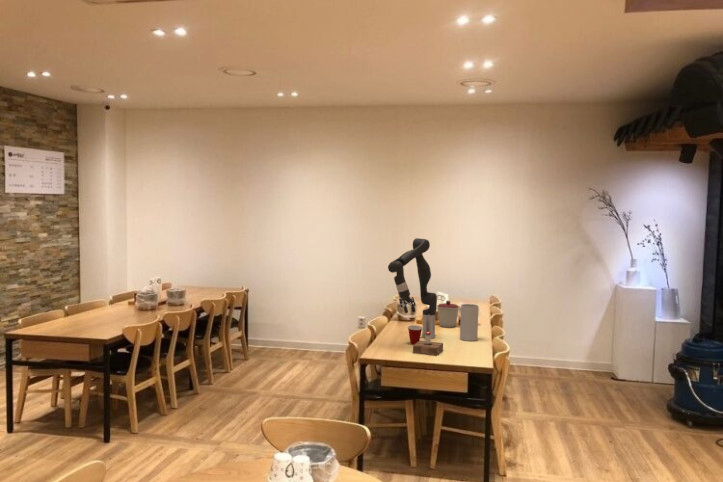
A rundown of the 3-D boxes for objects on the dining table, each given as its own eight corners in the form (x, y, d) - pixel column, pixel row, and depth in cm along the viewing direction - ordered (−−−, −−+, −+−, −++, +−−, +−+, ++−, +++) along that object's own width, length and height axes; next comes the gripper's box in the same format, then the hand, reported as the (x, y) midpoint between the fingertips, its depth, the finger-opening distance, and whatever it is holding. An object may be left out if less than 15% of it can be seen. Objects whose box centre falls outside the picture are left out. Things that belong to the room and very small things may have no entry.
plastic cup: (409, 345, 394) (409, 328, 394) (405, 342, 405) (405, 325, 404) (424, 345, 396) (424, 328, 396) (419, 341, 407) (420, 325, 406)
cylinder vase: (477, 341, 411) (478, 307, 409) (459, 340, 413) (460, 306, 412) (477, 338, 423) (478, 304, 422) (460, 337, 425) (461, 303, 424)
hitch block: (420, 347, 389) (420, 340, 388) (443, 350, 382) (443, 343, 382) (412, 352, 374) (413, 345, 374) (436, 355, 368) (436, 348, 367)
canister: (434, 327, 459) (435, 301, 458) (438, 323, 476) (439, 298, 475) (457, 329, 454) (458, 302, 453) (460, 325, 471) (460, 299, 470)
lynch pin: (425, 350, 381) (425, 330, 381) (431, 351, 380) (432, 331, 379) (423, 351, 377) (423, 332, 377) (429, 352, 376) (430, 332, 375)
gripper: (413, 287, 384) (420, 310, 385) (401, 288, 396) (408, 311, 397) (404, 290, 380) (412, 314, 381) (392, 292, 392) (400, 314, 393)
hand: (410, 312), depth 389 cm, fingers open, 8 cm apart
